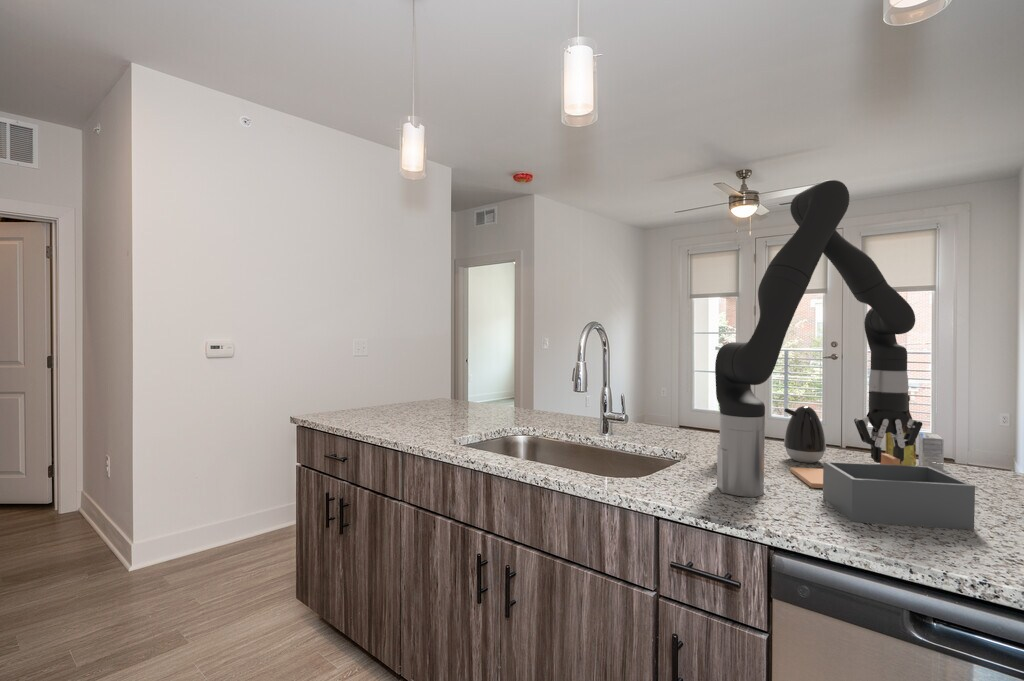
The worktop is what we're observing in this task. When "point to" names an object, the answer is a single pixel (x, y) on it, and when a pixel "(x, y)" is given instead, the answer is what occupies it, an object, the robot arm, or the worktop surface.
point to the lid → (816, 475)
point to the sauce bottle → (908, 450)
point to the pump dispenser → (804, 435)
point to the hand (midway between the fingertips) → (886, 462)
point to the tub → (899, 495)
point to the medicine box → (931, 451)
